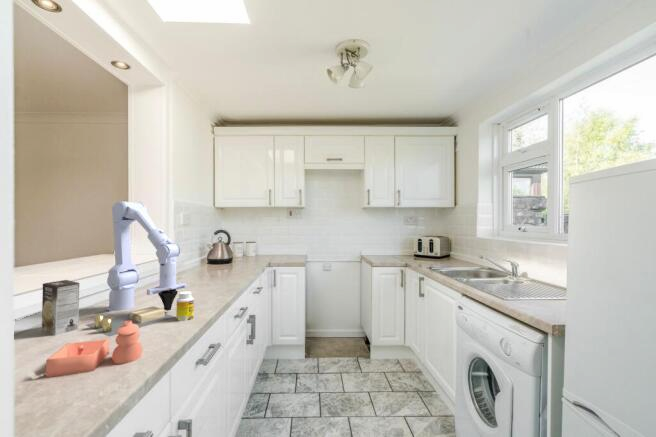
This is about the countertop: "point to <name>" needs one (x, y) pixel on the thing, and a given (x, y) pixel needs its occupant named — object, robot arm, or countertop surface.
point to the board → (120, 320)
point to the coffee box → (60, 307)
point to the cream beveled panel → (147, 314)
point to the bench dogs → (103, 323)
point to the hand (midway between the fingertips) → (167, 309)
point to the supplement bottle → (185, 306)
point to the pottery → (95, 353)
